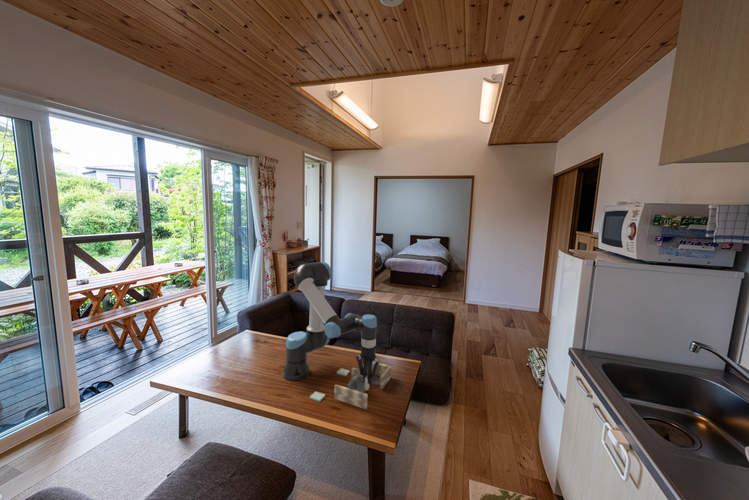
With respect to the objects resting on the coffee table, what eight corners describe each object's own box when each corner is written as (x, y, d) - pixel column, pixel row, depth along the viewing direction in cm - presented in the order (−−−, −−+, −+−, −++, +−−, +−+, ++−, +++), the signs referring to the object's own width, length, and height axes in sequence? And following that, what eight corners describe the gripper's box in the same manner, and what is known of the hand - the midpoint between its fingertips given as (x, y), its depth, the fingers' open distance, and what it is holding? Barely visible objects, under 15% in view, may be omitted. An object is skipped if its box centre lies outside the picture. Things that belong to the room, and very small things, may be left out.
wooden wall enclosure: (334, 398, 145) (334, 385, 145) (361, 369, 174) (362, 358, 173) (367, 409, 138) (368, 396, 137) (390, 377, 166) (391, 366, 166)
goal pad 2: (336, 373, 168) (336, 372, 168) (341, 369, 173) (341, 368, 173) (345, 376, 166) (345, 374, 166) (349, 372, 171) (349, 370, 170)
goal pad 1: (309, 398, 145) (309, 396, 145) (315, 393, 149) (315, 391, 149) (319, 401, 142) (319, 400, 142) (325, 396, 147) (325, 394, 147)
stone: (356, 379, 145) (361, 369, 155) (342, 389, 147) (347, 378, 157) (368, 394, 145) (372, 383, 155) (353, 404, 147) (358, 392, 157)
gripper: (353, 345, 145) (352, 389, 148) (377, 351, 140) (375, 396, 143) (360, 340, 152) (359, 381, 155) (382, 345, 147) (381, 388, 150)
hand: (366, 388), depth 149 cm, fingers closed
